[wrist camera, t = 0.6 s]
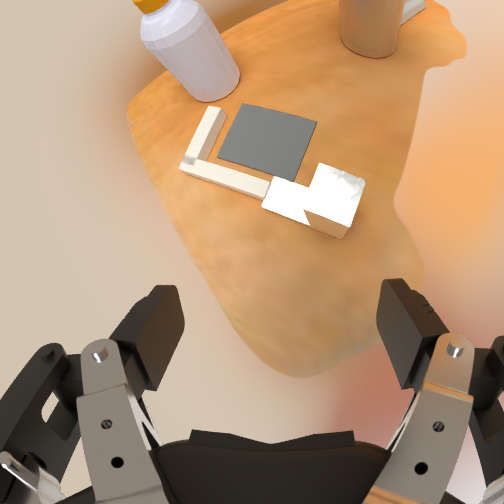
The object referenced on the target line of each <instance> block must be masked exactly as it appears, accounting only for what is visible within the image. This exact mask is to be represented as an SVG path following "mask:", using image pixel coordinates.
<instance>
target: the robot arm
mask: <svg viewBox="0 0 504 504" xmlns="http://www.w3.org/2000/svg"><path fill="white" fill-rule="evenodd" d="M404 3H405V0H339V13H340V37H341V40H342V42H343V43H344V45H345V46H346V47H347V48H349V49H350V50H352V51H353V52H355V53H357V54H360V55H363V56H366V57H372V58H382V57H387V56H389V55H391V54H392V53H393V52H394V51H395V48H396V44H397V39H398V34H399V30H400V25H401V20H402V14H403V8H404ZM376 322H377V328H378V331H379V333H380V335H381V338H382V340H383V342H384V345H385V347H386V350H387V352H388V355H389V357H390V360H391V362H392V365H393V367H394V370H395V373H396V375H397V378H398V381H399V383H400V386H401V389H402V390H403V389H408V388H414V391H415V393H414V394H413V396H412V399H411V401H410V403H409V405H408V407H407V410H406V412H405V414H404V416H403V418H402V420H401V422H400V424H399V426H398V428H397V430H396V432H395V434H394V436H393V437H392V439H391V441H390V442H389V444H388V446H387V448H386V449H384V448H382V447H380V446H377V445H374V444H371V443H367V442H361V441H355V440H354V433H353V431H345V432H335V433H324V434H313V435H309V436H305V437H301V438H297V439H293V440H289V441H284V442H280V443H274V444H268V443H263V442H259V441H255V440H251V439H248V438H244V437H240V436H237V435H233V434H230V433H219V432H208V431H201V430H193V429H192V431H191V434H190V438H189V440H188V439H187V440H180V441H175V442H171V443H167V444H165V445H164V443H163V442H162V440H161V438H160V436H159V434H158V432H157V430H156V427H155V425H154V423H153V420H152V418H151V415H150V413H149V411H148V408H147V405H146V403H145V400H144V398H143V396H142V394H143V392H144V390H145V389H146V390H151V391H157V388H158V386H159V384H160V382H161V380H162V378H163V375H164V373H165V371H166V369H167V366H168V364H169V362H170V360H171V358H172V355H173V353H174V351H175V349H176V347H177V345H178V342H179V340H180V338H181V336H182V334H183V331H184V325H185V324H184V323H185V322H184V315H183V311H182V307H181V303H180V299H179V294H178V290H177V288H176V286H174V285H156V286H155V287H154V288H153V290H152V291H151V292H150V294H149V295H148V296H147V297H144V298H143V299H141V300H140V301H138V302H137V303H135V305H134V306H133V307H132V308H131V310H130V312H129V313H128V314H127V315H126V316H125V319H123V320H122V321H121V323H120V324H119V325H118V327H117V328H116V329H115V331H114V332H113V333H112V335H111V336H110V337H109V339H100V340H97V341H94V342H92V343H90V344H88V345H87V346H86V347H85V348H84V349H83V351H82V353H81V354H72V355H67V354H66V352H65V350H64V349H63V347H62V345H60V344H58V343H50V344H47V345H45V346H43V347H41V348H40V349H39V350H38V351H37V352H36V353H35V354H34V355H33V357H32V358H31V359H30V360H29V362H28V363H27V364H26V366H25V367H24V368H23V369H22V371H21V372H20V373H19V375H18V376H17V377H16V379H15V380H14V381H13V383H12V384H11V385H10V387H9V388H8V390H7V391H6V392H5V394H4V395H3V397H2V398H1V400H0V504H465V503H464V502H462V501H460V500H459V499H457V498H456V497H454V496H453V495H451V494H450V493H448V492H446V491H445V490H446V488H447V485H448V483H449V480H450V478H451V476H452V473H453V470H454V467H455V465H456V462H457V459H458V456H459V453H460V450H461V447H462V444H463V440H464V437H465V434H466V430H467V426H468V424H469V427H470V430H471V433H472V436H473V439H474V442H475V446H476V449H477V452H478V455H479V459H480V463H481V466H482V470H483V474H484V478H485V483H486V488H487V489H486V491H485V493H484V496H483V500H482V501H481V502H480V503H479V504H504V411H503V409H502V407H501V405H500V402H499V400H498V397H499V396H500V394H501V393H502V392H503V391H504V336H499V337H497V338H496V339H495V340H494V342H493V344H492V346H491V348H490V349H485V348H474V346H473V344H472V342H471V341H470V340H469V339H468V338H466V337H465V336H463V335H461V334H458V333H450V332H449V330H448V329H447V328H446V326H445V325H444V324H443V322H442V321H441V319H440V318H439V316H438V315H437V314H436V312H434V309H433V308H432V307H431V306H430V304H429V303H428V301H427V300H426V299H425V297H424V296H423V295H421V294H420V293H418V292H417V291H415V290H411V289H410V288H409V286H408V285H407V284H406V282H405V281H404V280H403V279H402V278H398V279H385V280H383V282H382V286H381V292H380V298H379V303H378V309H377V315H376ZM52 391H53V393H54V394H55V396H56V397H57V398H58V400H59V402H58V403H57V405H56V407H55V409H54V410H53V412H52V414H51V415H50V417H49V419H48V421H47V422H46V423H45V422H44V420H43V418H42V414H41V412H42V408H43V406H44V404H45V402H46V401H47V399H48V397H49V396H50V394H51V393H52ZM80 437H81V438H82V443H83V449H84V454H85V458H86V463H87V467H88V471H89V474H90V479H91V483H92V486H90V487H88V488H86V489H84V490H82V491H80V492H78V493H76V494H74V495H72V496H70V497H67V498H65V496H64V494H63V493H61V487H60V483H61V480H62V477H63V475H64V473H65V470H66V468H67V465H68V463H69V461H70V459H71V457H72V454H73V452H74V450H75V448H76V445H77V443H78V441H79V439H80Z"/></svg>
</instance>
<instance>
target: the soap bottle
mask: <svg viewBox="0 0 504 504" xmlns="http://www.w3.org/2000/svg"><path fill="white" fill-rule="evenodd" d="M133 3H134V4H135V5H136V6H137V7H138V8H139V9H140V10H141V11H142V12H143V13H144V16H143V18H142V21H141V29H140V37H141V40H142V42H143V44H144V46H145V47H146V48H147V49H148V50H149V51H150V52H151V53H152V54H153V55H154V56H155V57H156V58H157V59H158V60H159V61H160V62H161V63H162V64H163V65H164V66H165V67H166V68H167V69H168V71H169V72H170V73H171V74H172V75H173V76H174V77H175V78H176V79H177V80H178V81H179V82H180V83H181V85H182V86H183V87H184V88H185V89H186V90H187V91H188V92H189V93H190V94H191V95H192V96H193V97H194V98H195V99H196V100H199V101H202V102H213V101H217V100H219V99H222V98H224V97H226V96H227V95H228V94H229V93H231V92H232V91H233V90H234V89H235V87H236V86H237V84H238V83H239V78H240V72H239V69H238V67H237V65H236V63H235V61H234V59H233V57H232V55H231V54H230V52H229V50H228V48H227V46H226V45H225V43H224V41H223V39H222V38H221V36H220V34H219V33H218V31H217V29H216V27H215V26H214V24H213V23H212V21H211V19H210V17H209V16H208V14H207V12H206V11H205V9H204V8H203V7H202V6H201V5H199V4H198V3H197V2H194V1H192V0H133Z"/></svg>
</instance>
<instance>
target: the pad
mask: <svg viewBox="0 0 504 504" xmlns="http://www.w3.org/2000/svg"><path fill="white" fill-rule="evenodd" d="M316 124H317V122H316V121H312V120H309V119H306V118H302V117H298V116H295V115H291V114H287V113H283V112H279V111H275V110H271V109H267V108H262V107H258V106H253V105H248V104H243V103H242V105H241V107H240V109H239V111H238V113H237V115H236V117H235V119H234V121H233V124H232V126H231V128H230V130H229V132H228V134H227V136H226V138H225V140H224V143H223V145H222V147H221V149H220V151H219V153H218V156H217V158H220V159H223V160H227V161H230V162H233V163H237V164H240V165H243V166H246V167H250V168H253V169H256V170H259V171H262V172H265V173H268V174H271V175H274V176H277V177H280V178H283V179H286V180H289V181H291V182H293V181H294V179H295V176H296V174H297V171H298V169H299V166H300V164H301V161H302V159H303V156H304V154H305V151H306V149H307V146H308V144H309V141H310V139H311V136H312V134H313V131H314V129H315V126H316Z"/></svg>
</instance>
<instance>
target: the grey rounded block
mask: <svg viewBox="0 0 504 504" xmlns="http://www.w3.org/2000/svg"><path fill="white" fill-rule="evenodd" d="M424 8H426V7H425V2H424V0H405V3H404V8H403V14H402V20H401V25H402V24H403V23H405V22H406V21H407V20H409V19H410V18H411V17H413V16H414V15H416V14H417V13H418V12H420V11H421V10H423V9H424ZM401 25H400V26H401Z"/></svg>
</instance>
